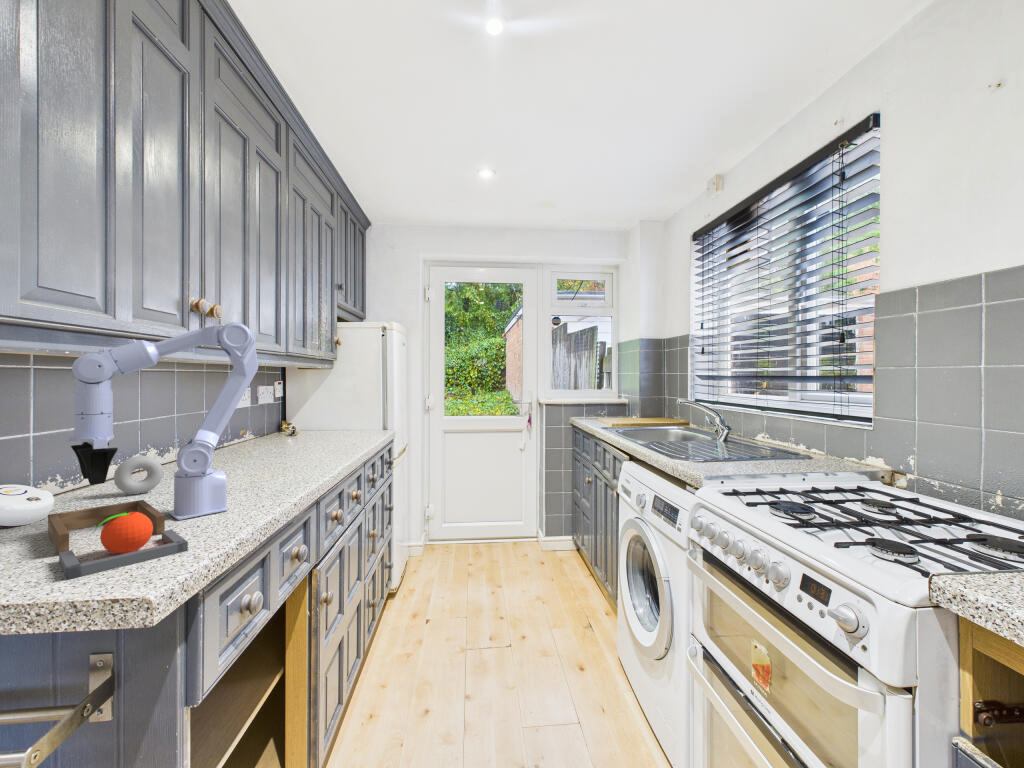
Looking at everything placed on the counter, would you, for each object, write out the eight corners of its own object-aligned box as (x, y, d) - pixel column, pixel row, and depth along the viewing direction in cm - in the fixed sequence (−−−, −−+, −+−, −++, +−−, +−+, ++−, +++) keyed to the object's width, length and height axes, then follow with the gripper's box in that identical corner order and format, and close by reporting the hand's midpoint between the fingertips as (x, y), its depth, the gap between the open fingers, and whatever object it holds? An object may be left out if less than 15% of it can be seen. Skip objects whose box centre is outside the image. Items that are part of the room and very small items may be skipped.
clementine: (99, 566, 71) (100, 522, 71) (85, 556, 74) (85, 514, 74) (159, 550, 78) (160, 510, 78) (143, 542, 81) (144, 503, 81)
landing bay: (171, 537, 84) (171, 529, 84) (187, 550, 78) (187, 541, 78) (59, 561, 72) (59, 552, 72) (67, 579, 66) (67, 569, 66)
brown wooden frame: (142, 515, 97) (142, 499, 97) (164, 533, 86) (164, 515, 86) (48, 532, 85) (48, 514, 85) (59, 555, 75) (59, 535, 75)
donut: (114, 498, 110) (114, 459, 110) (112, 496, 112) (112, 457, 112) (164, 491, 117) (164, 454, 117) (161, 489, 119) (162, 452, 119)
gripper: (61, 412, 90) (60, 478, 90) (71, 417, 81) (71, 490, 81) (107, 411, 96) (107, 473, 96) (121, 415, 87) (121, 483, 87)
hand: (93, 480), depth 89 cm, fingers open, 7 cm apart
